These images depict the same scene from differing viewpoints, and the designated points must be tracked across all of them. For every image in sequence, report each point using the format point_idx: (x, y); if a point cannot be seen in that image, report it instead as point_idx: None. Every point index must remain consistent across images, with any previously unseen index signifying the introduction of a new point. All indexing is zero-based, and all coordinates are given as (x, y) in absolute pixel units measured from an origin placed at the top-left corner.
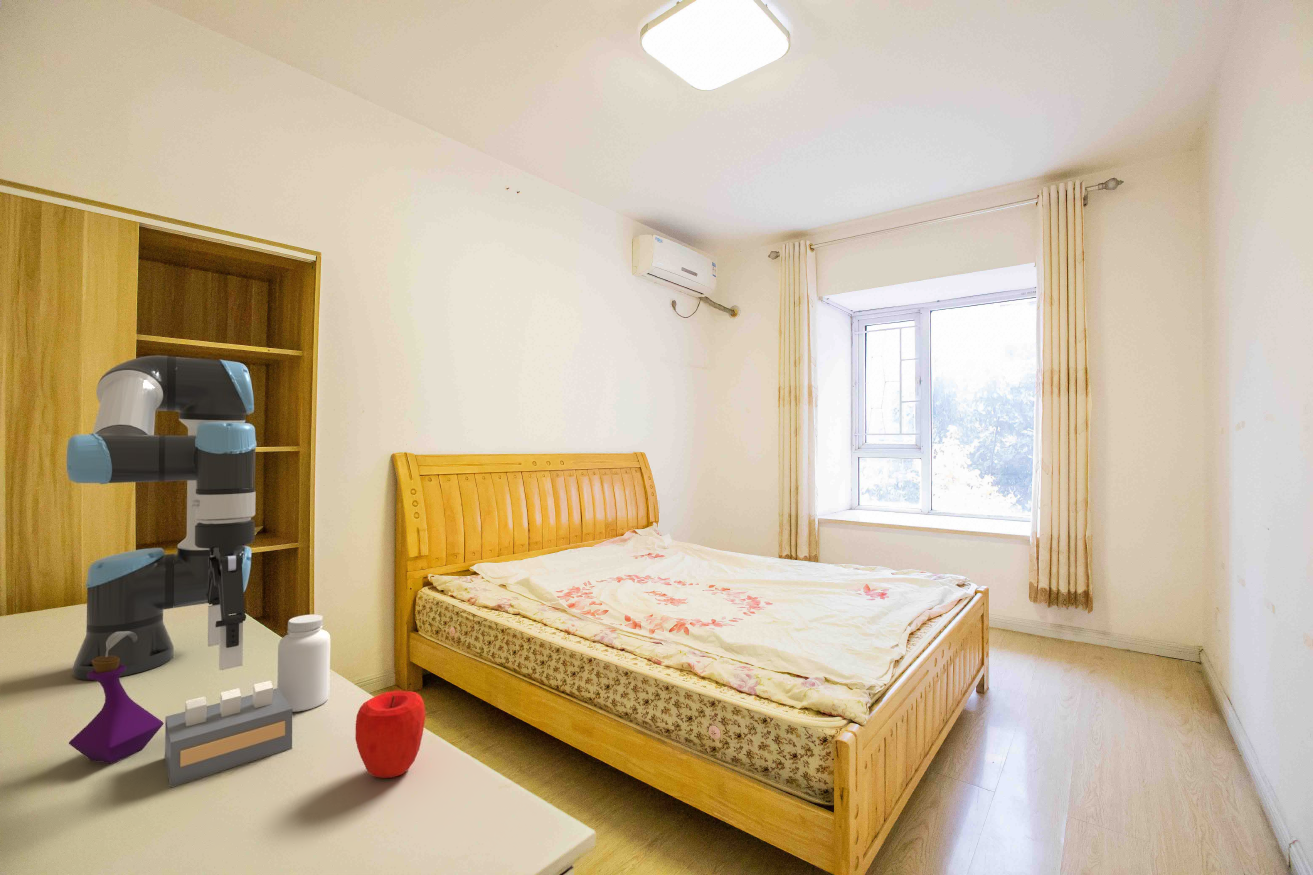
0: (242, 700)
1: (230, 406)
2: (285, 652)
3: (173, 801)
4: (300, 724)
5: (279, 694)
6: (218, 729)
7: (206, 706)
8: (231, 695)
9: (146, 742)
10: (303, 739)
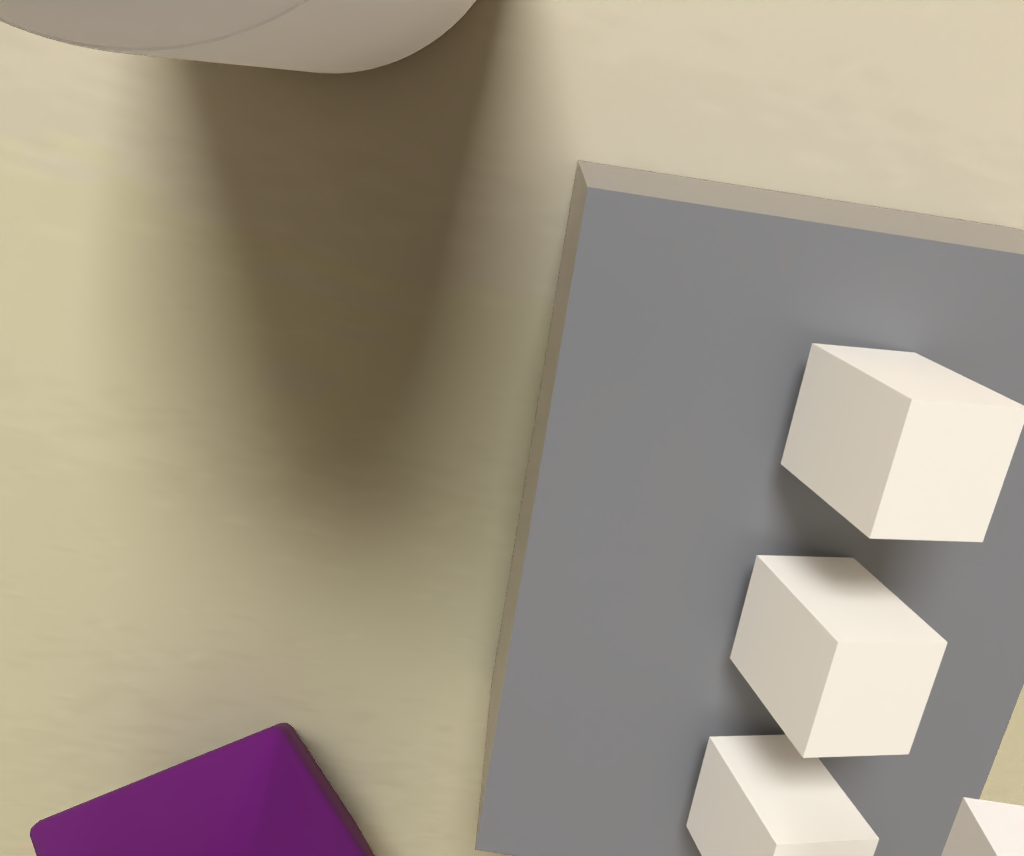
0: (617, 474)
1: None
2: (298, 24)
3: (1000, 757)
4: (711, 50)
5: (758, 236)
6: (1008, 719)
7: (867, 824)
8: (897, 699)
9: (295, 736)
10: (962, 129)
